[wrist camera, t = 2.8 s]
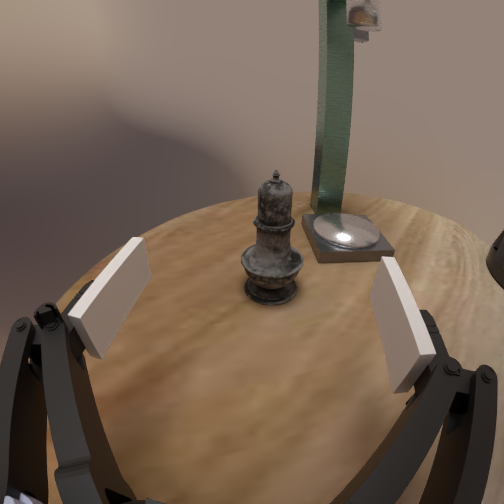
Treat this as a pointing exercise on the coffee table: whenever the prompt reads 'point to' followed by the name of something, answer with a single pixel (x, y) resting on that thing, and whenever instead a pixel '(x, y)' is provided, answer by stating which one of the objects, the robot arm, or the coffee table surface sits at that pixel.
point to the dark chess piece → (272, 247)
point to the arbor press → (339, 137)
